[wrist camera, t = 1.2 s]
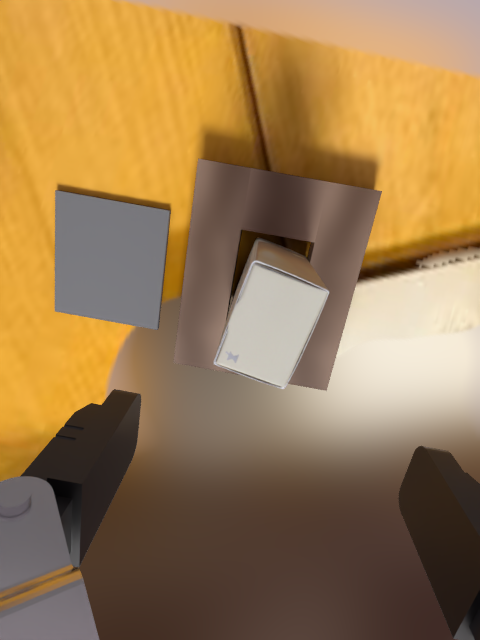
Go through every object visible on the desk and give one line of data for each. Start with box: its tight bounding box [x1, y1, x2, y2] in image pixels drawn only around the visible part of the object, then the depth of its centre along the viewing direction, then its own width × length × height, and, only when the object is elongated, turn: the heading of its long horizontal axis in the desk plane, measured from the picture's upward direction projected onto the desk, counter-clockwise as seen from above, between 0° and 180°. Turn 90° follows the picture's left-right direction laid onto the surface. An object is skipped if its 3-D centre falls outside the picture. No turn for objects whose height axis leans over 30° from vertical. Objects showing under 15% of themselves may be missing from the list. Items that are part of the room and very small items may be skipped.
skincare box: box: [214, 237, 329, 389], centre depth 25 cm, size 6×4×12 cm
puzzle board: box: [174, 159, 382, 390], centre depth 30 cm, size 13×16×2 cm
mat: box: [55, 190, 171, 330], centre depth 31 cm, size 9×10×1 cm
